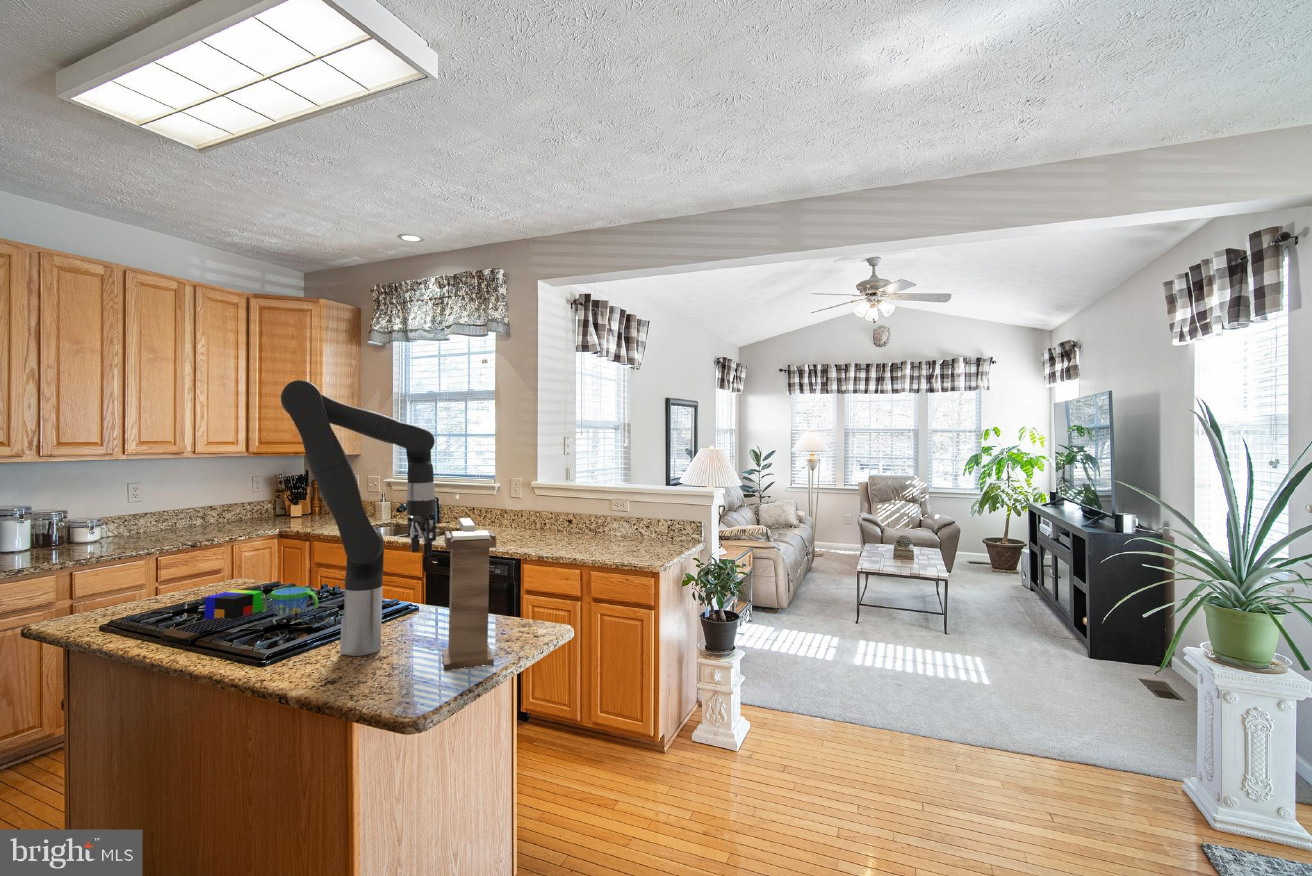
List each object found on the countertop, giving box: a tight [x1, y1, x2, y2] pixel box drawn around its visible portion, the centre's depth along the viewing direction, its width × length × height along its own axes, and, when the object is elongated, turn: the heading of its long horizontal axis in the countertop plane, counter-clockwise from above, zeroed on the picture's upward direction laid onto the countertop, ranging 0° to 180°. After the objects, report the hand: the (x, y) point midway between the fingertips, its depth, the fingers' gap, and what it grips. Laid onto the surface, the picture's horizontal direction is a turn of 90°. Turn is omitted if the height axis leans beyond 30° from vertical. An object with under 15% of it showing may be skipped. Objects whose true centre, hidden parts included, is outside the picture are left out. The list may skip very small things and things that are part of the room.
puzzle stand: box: [441, 529, 497, 672], centre depth 156 cm, size 12×12×33 cm
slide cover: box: [450, 517, 490, 540], centre depth 163 cm, size 26×9×2 cm, turn 22°
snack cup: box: [261, 586, 319, 615], centre depth 186 cm, size 16×10×10 cm
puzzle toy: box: [204, 589, 263, 620], centre depth 181 cm, size 10×10×10 cm
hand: (421, 554), depth 172 cm, fingers open, 8 cm apart
